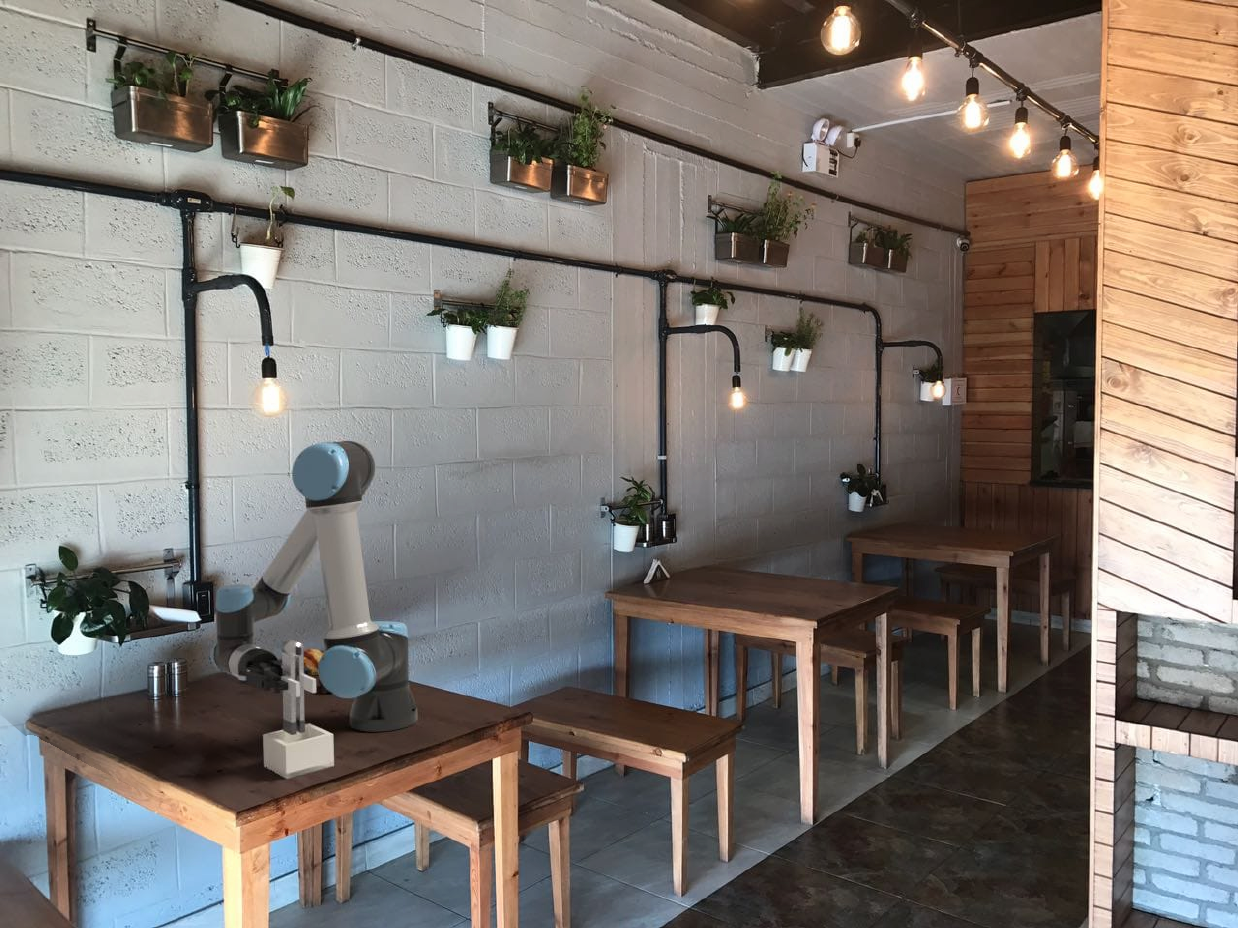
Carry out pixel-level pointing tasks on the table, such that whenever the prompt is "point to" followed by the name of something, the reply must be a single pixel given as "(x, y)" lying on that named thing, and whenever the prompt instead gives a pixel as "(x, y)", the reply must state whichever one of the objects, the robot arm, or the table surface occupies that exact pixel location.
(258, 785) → the table surface
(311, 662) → the croissant
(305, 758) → the caddy
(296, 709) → the tongs
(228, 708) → the table surface
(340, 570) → the robot arm
